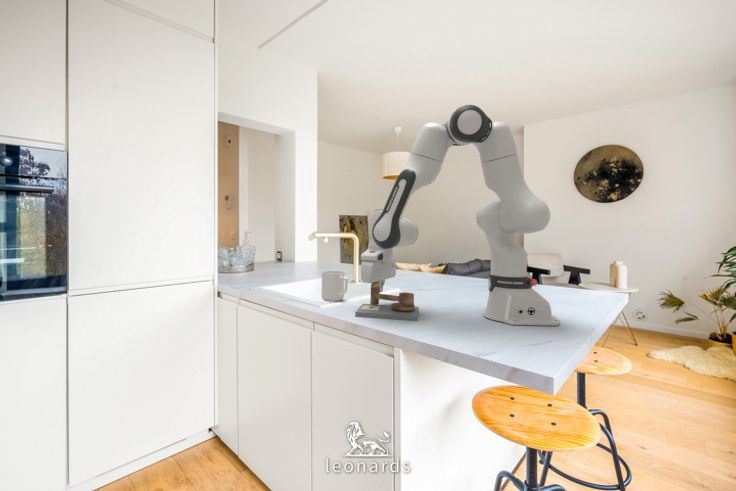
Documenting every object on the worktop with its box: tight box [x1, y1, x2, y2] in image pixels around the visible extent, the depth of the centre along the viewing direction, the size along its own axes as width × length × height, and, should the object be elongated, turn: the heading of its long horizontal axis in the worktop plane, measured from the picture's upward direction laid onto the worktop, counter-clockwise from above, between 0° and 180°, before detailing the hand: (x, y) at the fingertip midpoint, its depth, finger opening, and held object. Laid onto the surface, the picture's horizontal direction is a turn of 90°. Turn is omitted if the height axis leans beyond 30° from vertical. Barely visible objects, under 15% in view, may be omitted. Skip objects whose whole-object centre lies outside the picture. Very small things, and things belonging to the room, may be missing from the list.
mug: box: [321, 270, 349, 303], centre depth 137 cm, size 12×9×11 cm
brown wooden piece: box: [369, 282, 416, 311], centre depth 119 cm, size 16×8×8 cm, turn 61°
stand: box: [354, 303, 420, 321], centre depth 117 cm, size 20×13×2 cm, turn 80°
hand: (379, 292), depth 126 cm, fingers closed
